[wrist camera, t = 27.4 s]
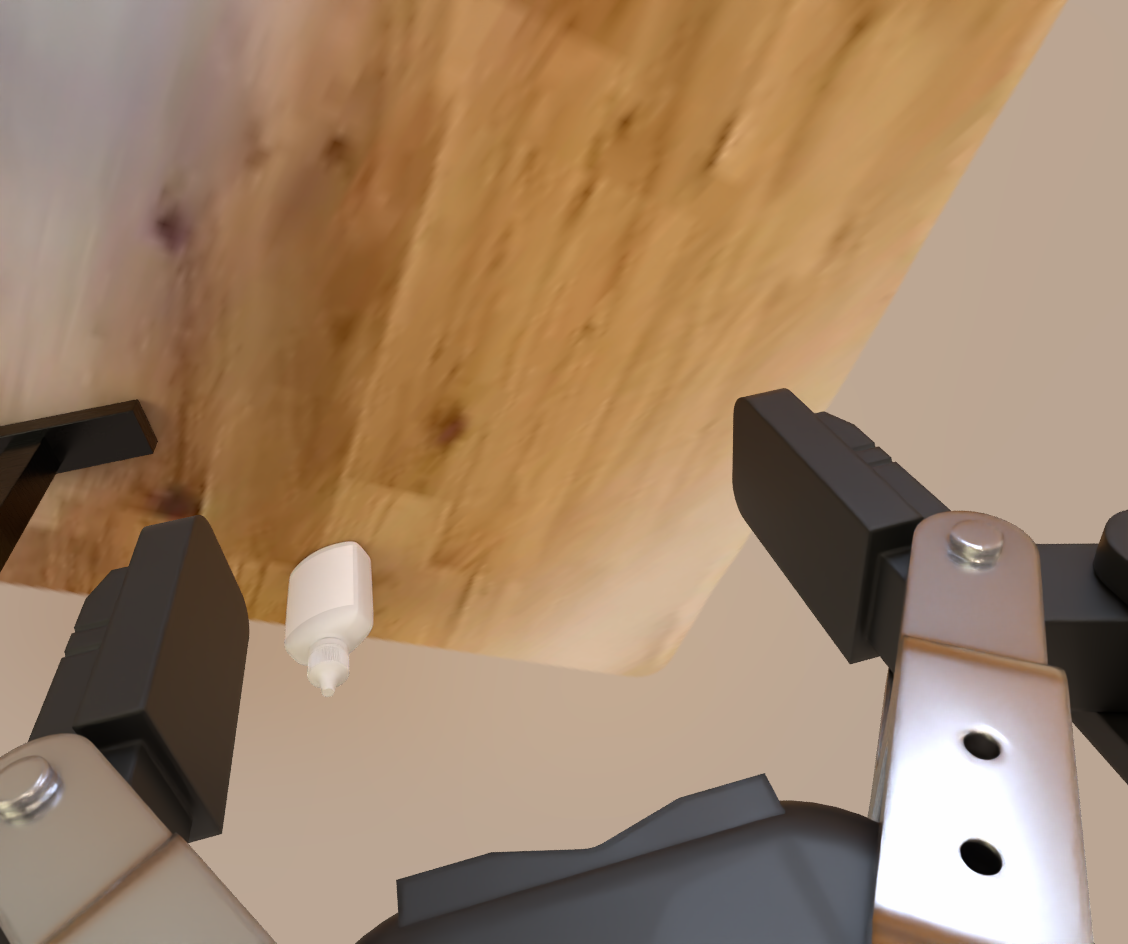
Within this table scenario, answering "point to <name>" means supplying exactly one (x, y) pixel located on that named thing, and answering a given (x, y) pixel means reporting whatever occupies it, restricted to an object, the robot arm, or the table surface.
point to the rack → (62, 456)
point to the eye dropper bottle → (329, 612)
